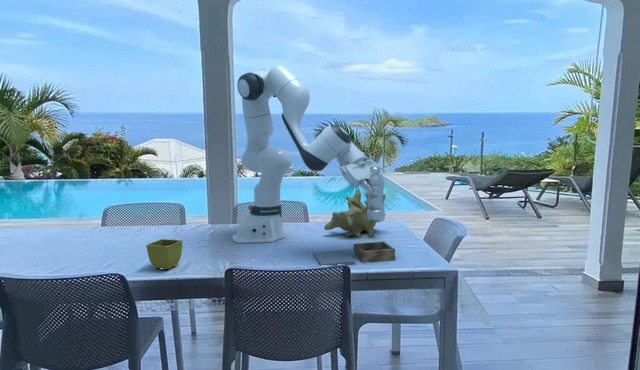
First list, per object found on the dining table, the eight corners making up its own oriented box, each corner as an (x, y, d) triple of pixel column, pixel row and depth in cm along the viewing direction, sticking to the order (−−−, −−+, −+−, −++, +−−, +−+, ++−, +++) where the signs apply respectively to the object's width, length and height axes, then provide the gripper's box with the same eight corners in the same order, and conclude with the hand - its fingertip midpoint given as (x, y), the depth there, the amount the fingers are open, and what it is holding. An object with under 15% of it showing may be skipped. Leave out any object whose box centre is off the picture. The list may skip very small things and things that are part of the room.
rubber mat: (321, 267, 151) (321, 264, 151) (313, 255, 164) (312, 252, 164) (355, 264, 153) (355, 261, 153) (344, 252, 167) (343, 250, 167)
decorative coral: (399, 203, 202) (376, 174, 185) (397, 247, 190) (371, 219, 174) (350, 212, 215) (324, 185, 198) (345, 253, 203) (316, 228, 187)
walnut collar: (362, 262, 154) (362, 251, 154) (353, 254, 165) (353, 243, 165) (395, 260, 157) (395, 249, 157) (383, 251, 168) (383, 241, 167)
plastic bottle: (381, 224, 156) (380, 168, 153) (363, 222, 159) (362, 167, 156) (388, 220, 161) (387, 166, 158) (371, 219, 165) (370, 166, 162)
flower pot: (163, 262, 158) (161, 238, 157) (184, 264, 156) (183, 239, 154) (147, 270, 150) (145, 244, 149) (169, 272, 147) (167, 246, 146)
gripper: (342, 158, 153) (367, 188, 148) (371, 153, 169) (395, 180, 165) (332, 170, 156) (356, 200, 152) (361, 164, 172) (384, 191, 168)
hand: (376, 190), depth 158 cm, fingers closed on plastic bottle, 6 cm apart
